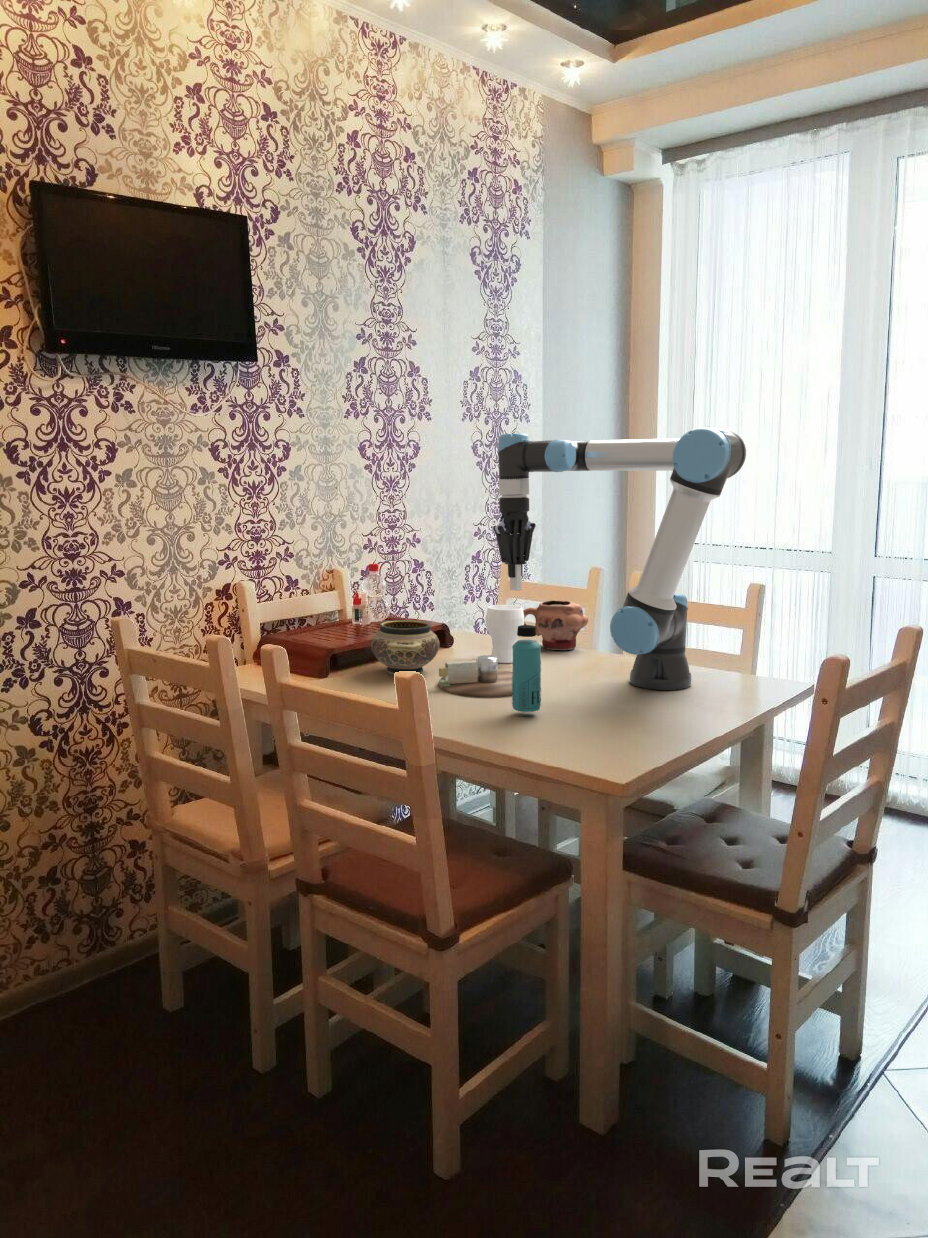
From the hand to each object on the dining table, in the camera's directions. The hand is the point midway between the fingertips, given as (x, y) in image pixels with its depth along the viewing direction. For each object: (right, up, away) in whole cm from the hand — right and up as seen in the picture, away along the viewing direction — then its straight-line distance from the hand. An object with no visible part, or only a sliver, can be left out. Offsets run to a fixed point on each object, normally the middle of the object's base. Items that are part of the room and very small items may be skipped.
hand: (515, 589), depth 237 cm
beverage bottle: (+1, -29, -31) cm, 42 cm away
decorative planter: (+13, -16, +39) cm, 44 cm away
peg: (-12, -23, -6) cm, 26 cm away
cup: (-2, -19, +23) cm, 30 cm away
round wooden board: (-7, -24, -5) cm, 25 cm away
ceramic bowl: (-29, -22, +9) cm, 37 cm away
